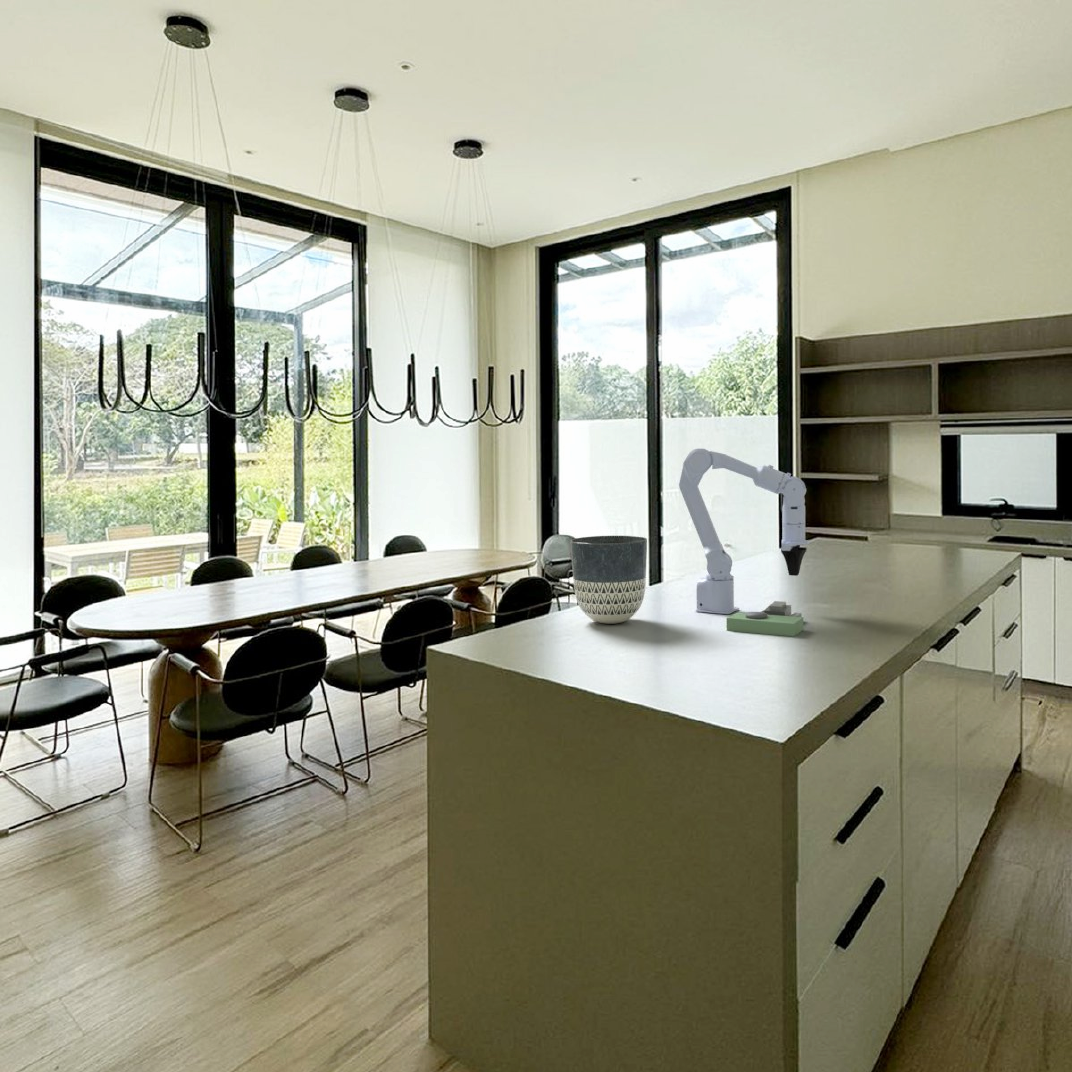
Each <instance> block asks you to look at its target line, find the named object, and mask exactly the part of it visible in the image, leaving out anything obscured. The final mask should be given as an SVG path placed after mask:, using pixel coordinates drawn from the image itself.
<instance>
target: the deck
mask: <svg viewBox="0 0 1072 1072" xmlns="http://www.w3.org/2000/svg"><path fill="white" fill-rule="evenodd" d="M764 610H765V609H763V610H762V611H749V612H739V611H738V612H735V613H734V614H732V615H730V616H728V617H727V618H726V631H732V632H741V633H742V632H743V633H752V634H762V635H763V634H764V635H775V636H783V637H795V636H796V635H798V634H800V633H801V632H802V631H804V617H802V613H801V612H794V613H793V614H792V613H791V616H779V615H767V613H764Z"/></svg>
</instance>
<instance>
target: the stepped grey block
mask: <svg viewBox="0 0 1072 1072" xmlns="http://www.w3.org/2000/svg"><path fill="white" fill-rule="evenodd" d="M763 610H764V613H767V615H779V616H791V615H792V605H790V604H787V601H778V600H777V601H776V600H774V601H773V602H772V603H770V604H769V605H768V606H767V607H766V608H765V609H763Z"/></svg>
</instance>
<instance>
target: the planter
mask: <svg viewBox="0 0 1072 1072" xmlns="http://www.w3.org/2000/svg"><path fill="white" fill-rule="evenodd" d="M569 543H570V554H571V566H572V578H573V589H574V594H575V599H576V602H577V604H578V607H579V609H580V610H581V611H582V612H583V613H584V614H585V616H587V618H589V619H590V620H592V621H594V622H596V623H599V624H607V625H614V624H621V623H623V622H624V623H625V622H626V621H629V620H630V619H631V618H632V617H634V615H635V614H636V613H637V612H638V611H639V610H640V608H641V607H642V604H643V602H644V597H645V593H646V580H647V559H648V558H647V557H648V556H647V555H648V553H647V552H648V538H647V537H643V536H637V535H636V536H635V535H594V536H585V537H577V538H573V539H571V540H570V542H569Z"/></svg>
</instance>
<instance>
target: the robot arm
mask: <svg viewBox="0 0 1072 1072" xmlns="http://www.w3.org/2000/svg"><path fill="white" fill-rule="evenodd" d="M682 463H683V464H682V470H681V473H680V474H681V475H680V479H679V482H678V487H679V490H680V493H681V495H682V498H683V500H684V503H685V505H686V508H687V510H688V512H689V515H690V518H691V520H692V523H693V525H694V528H695V529H696V530H695V531H696V533H697V535H698V538H699V539H700V543H701V546H702V548H703V552H704V556H705V558H706V570H707V573H708V574H706V575H705V577H700V578H698V580H697V582H696V583H697V584H696V609H695V612H698V613H711V614H723V615H724V614H725V615H730V614H732V613H734V612H736V611H738V610H740V607H736V606H735V598H734V597H735V596H734V595H735V593H734V591H735V590H734V588H735V586H734V584H735V582H734V581H735V577H734V575H732V574H731V571H732V567H733V560H732V557H731V555H730V554H728V553H727V552H726V551H725V549H724V547H723V545H722V543H721V541H720V538H719V536H718V534H717V531H716V528H715V526H714V524H713V521H712V518H711V516H710V514H709V511H708V508H707V505H706V503H705V501H704V498H703V496H702V493H701V491H700V489H699V485H700V483H701V481H702V479H703V476H704V475H705V473H707V472H708V470H709V469H710V468H711V469H712V470H718V469H725V470H728V471H729V472H734V473H736V474H739V475H742V476H744V477H747V478H750V479H752V481H753V484H754V485H755V486H756V487H759V488H761V489H764V490H765V491H766V490H767V491H769V492H771V493H774V494H776V495H780V494H782V495H783V499H782V501H783V503H782V508H781V509H782V510H781V513H782V515H781V516H782V518H781V520H782V521H781V522H782V528H781V529H782V533H781V534H782V535H781V536H782V537H781V538H782V539H781V548H780V552H781V554H782V555H783V558H784V560H785V564H786V567H787V573H788V575H789V576H796V577H797V576H799V573H800V571H801V567H802V566H801V565H802V561H803V558H804V556H805V554H806V553H807V549H808V548H807V547H805V545H806V544H807V545H808V544H810V543H811V540H810V539H809V540H807V539H806V505H805V503H806V499H805V495H806V493H807V488H806V484H805V482H804V481H803V480H802V479H800V478H799V477H797V476H794V475H793V476H791V475H792V473H790V472H787V473H785V472H783V471H780V470H778V469H775V468H774V465H771V464H768V466H767V465H765V464H763V465H760V466H758V467H756V466H753V465H751V464H749V463H746V462H744V461H742V460H740V459H738V458H737V459H736V458H734V457H732V456H730V455H728V454H725V453H722V452H718V451H713V450H707V449H706V448H694V449H693V450H691V451H690V452H689V453H688V454H687V456H686V457H685V459H684V461H683V462H682ZM801 546H802V547H801ZM803 546H804V547H803Z"/></svg>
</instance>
